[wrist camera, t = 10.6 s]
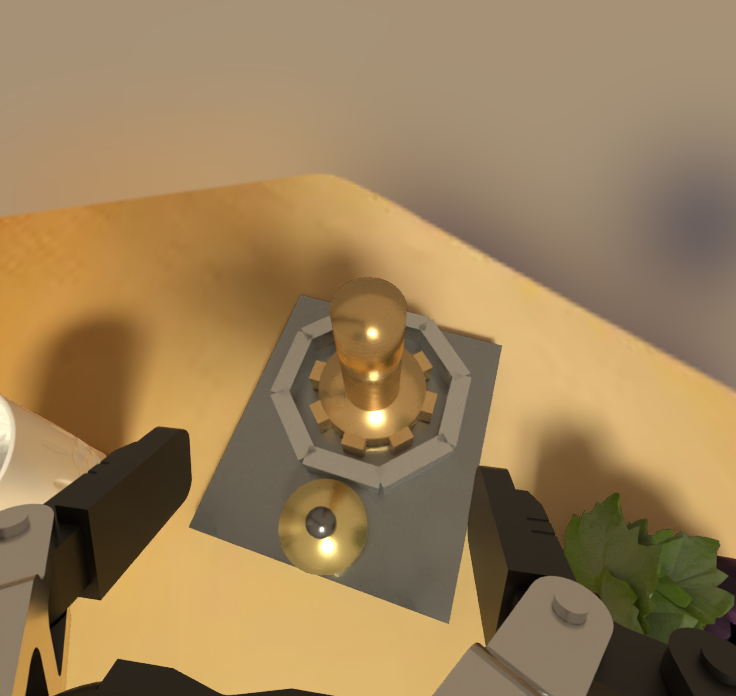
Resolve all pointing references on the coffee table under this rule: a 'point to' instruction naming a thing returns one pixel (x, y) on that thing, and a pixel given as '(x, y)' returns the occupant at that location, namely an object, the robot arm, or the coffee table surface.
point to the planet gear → (371, 371)
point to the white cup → (37, 456)
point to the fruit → (652, 574)
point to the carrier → (357, 471)
